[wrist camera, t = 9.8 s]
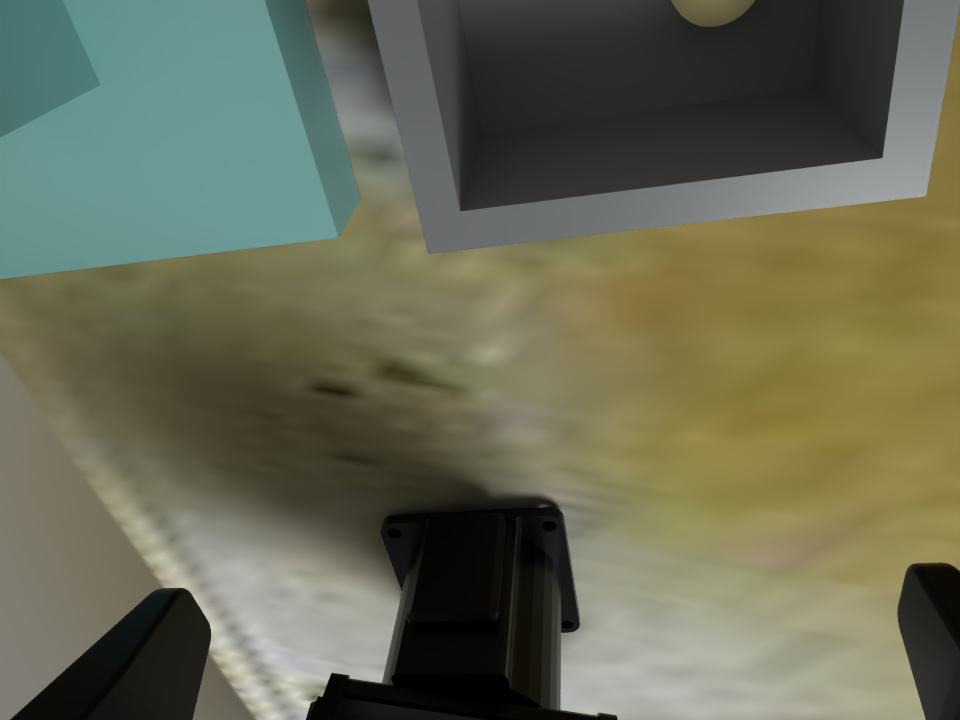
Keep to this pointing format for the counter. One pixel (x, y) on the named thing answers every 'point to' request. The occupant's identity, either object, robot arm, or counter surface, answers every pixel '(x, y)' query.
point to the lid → (163, 132)
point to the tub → (657, 110)
